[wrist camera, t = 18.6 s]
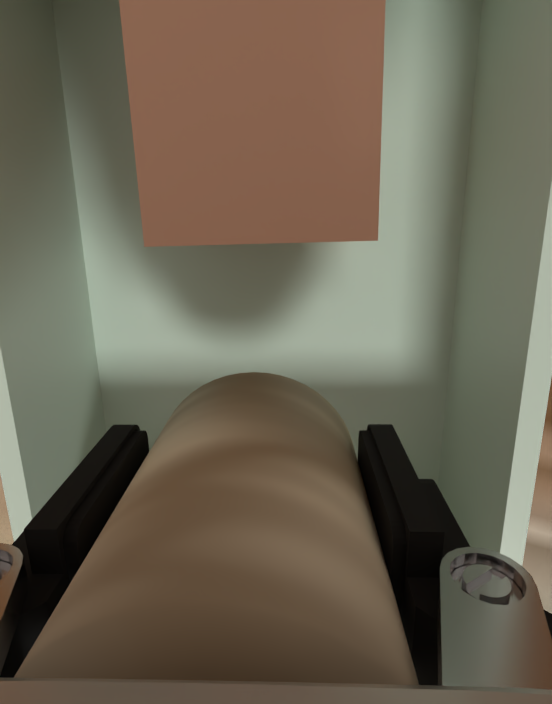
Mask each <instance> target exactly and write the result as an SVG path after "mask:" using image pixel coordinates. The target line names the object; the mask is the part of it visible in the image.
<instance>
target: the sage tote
mask: <svg viewBox="0 0 552 704" xmlns="http://www.w3.org/2000/svg"><path fill="white" fill-rule="evenodd" d="M248 372H261V373H271V374H276V375H281V376H284V377H288V378H291V379H294V380H296V381H298V382H300V383H302V384H305V385H307V386H308V387H310V388H311V389H313V390H315V391H316V392H318V393H319V394H320V395H321V396H322V397H324V398H325V399H326V400H327V401H328V402H329V403H330V404H331V405H332V406H333V407H334V408H335V409H336V411H337V412H338V413H339V415H340V416H341V418H342V419H343V421H344V423H345V425H346V427H347V429H348V431H349V433H350V436H351V439H352V442H353V446H354V449H355V453H356V457H357V460H358V437H359V431H360V430H367V426H368V424H392V425H393V427H394V429H395V431H396V433H397V435H398V437H399V439H400V441H401V443H402V445H403V447H404V449H405V452H406V454H407V456H408V458H409V460H410V462H411V464H412V466H413V468H414V470H415V472H416V474H417V476H418V478H419V479H433V480H434V481H435V483H436V484H437V486H438V488H439V490H440V491H441V493H442V495H443V497H444V499H445V501H446V503H447V504H448V506H449V508H450V510H451V512H452V514H453V515H454V517H455V519H456V521H457V523H458V525H459V526H460V528H461V530H462V532H463V534H464V536H465V538H466V539H467V541H468V543H469V545H470V547H477V548H485V549H488V550H492V551H496V552H498V553H500V554H503V555H505V556H507V557H509V558H511V559H513V560H514V561H515V562H517V563H518V564H520V565H521V566H522V563H523V557H524V551H525V544H526V538H527V531H528V525H529V518H530V512H531V506H532V499H533V493H534V486H535V480H536V473H537V467H538V461H539V454H540V448H541V441H542V435H543V428H544V422H545V416H546V409H547V403H548V396H549V390H550V383H551V377H552V0H386V4H385V36H384V67H383V99H382V131H381V163H380V195H379V226H378V241H346V242H309V243H271V244H233V245H195V246H157V247H144V240H143V230H142V220H141V210H140V201H139V191H138V181H137V171H136V162H135V152H134V142H133V133H132V123H131V113H130V103H129V94H128V84H127V74H126V64H125V55H124V45H123V35H122V26H121V16H120V6H119V0H0V474H1V479H2V484H3V489H4V494H5V499H6V504H7V509H8V514H9V519H10V524H11V529H12V534H13V539H14V542H15V540H16V539H17V538H18V537H19V536H20V535H21V533H22V532H23V531H24V528H25V527H26V526H27V525H28V524H29V522H30V521H31V520H32V519H33V518H34V517H35V515H36V514H37V513H38V512H39V511H40V510H41V508H42V507H43V506H44V505H45V504H46V502H47V501H48V500H49V499H50V498H51V497H52V495H53V494H54V493H55V492H56V491H57V490H58V488H59V487H60V486H61V485H62V484H63V483H64V481H65V480H66V479H67V478H68V477H69V476H70V474H71V473H72V472H73V471H74V470H75V468H76V467H77V466H78V465H79V464H80V463H81V461H82V460H83V459H84V458H85V457H86V456H87V454H88V453H89V452H90V451H91V450H92V449H93V447H94V446H95V445H96V444H97V443H98V442H99V440H100V439H101V438H102V437H103V436H104V434H105V433H106V432H107V431H108V430H109V429H110V427H111V426H112V425H138V426H139V428H140V430H144V431H146V432H147V435H148V443H149V451H150V450H151V448H152V446H153V445H154V443H155V441H156V440H157V438H158V436H159V435H160V433H161V431H162V430H163V428H164V426H165V425H166V423H167V421H168V420H169V418H170V417H171V415H172V413H173V412H174V410H175V409H176V408H177V407H178V406H179V404H180V403H181V402H182V401H183V400H184V399H185V398H186V397H187V396H189V395H190V394H191V393H192V392H193V391H195V390H196V389H198V388H200V387H201V386H203V385H205V384H207V383H209V382H211V381H213V380H215V379H218V378H221V377H224V376H227V375H233V374H238V373H248Z"/></svg>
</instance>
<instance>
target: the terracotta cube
mask: <svg viewBox="0 0 552 704" xmlns="http://www.w3.org/2000/svg"><path fill="white" fill-rule="evenodd" d="M385 4H386V0H119V6H120V16H121V26H122V35H123V45H124V55H125V64H126V74H127V84H128V94H129V103H130V113H131V123H132V133H133V142H134V152H135V162H136V171H137V181H138V191H139V201H140V210H141V220H142V230H143V240H144V247H157V246H195V245H233V244H271V243H309V242H346V241H378V226H379V195H380V163H381V131H382V99H383V67H384V36H385Z"/></svg>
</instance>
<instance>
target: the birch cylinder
mask: <svg viewBox="0 0 552 704" xmlns="http://www.w3.org/2000/svg"><path fill="white" fill-rule="evenodd" d="M14 678H84V679H148V680H207V681H262V682H309V683H351V684H394V685H419V683H418V679H417V675H416V672H415V668H414V664H413V661H412V657H411V654H410V650H409V646H408V643H407V639H406V635H405V632H404V628H403V624H402V621H401V617H400V613H399V610H398V606H397V602H396V599H395V595H394V592H393V588H392V584H391V581H390V577H389V573H388V570H387V566H386V562H385V559H384V555H383V551H382V548H381V544H380V540H379V537H378V533H377V529H376V526H375V522H374V519H373V515H372V511H371V508H370V504H369V500H368V497H367V493H366V489H365V486H364V482H363V478H362V475H361V471H360V467H359V464H358V460H357V457H356V453H355V449H354V446H353V442H352V439H351V436H350V433H349V431H348V429H347V427H346V425H345V423H344V421H343V419H342V418H341V416H340V415H339V413H338V412H337V411H336V409H335V408H334V407H333V406H332V405H331V404H330V403H329V402H328V401H327V400H326V399H325V398H324V397H322V396H321V395H320V394H319V393H318V392H316V391H315V390H313V389H311V388H310V387H308V386H307V385H305V384H302V383H300V382H298V381H296V380H294V379H291V378H288V377H284V376H281V375H276V374H271V373H261V372H248V373H238V374H233V375H227V376H224V377H221V378H218V379H215V380H213V381H211V382H209V383H207V384H205V385H203V386H201V387H200V388H198V389H196V390H195V391H193V392H192V393H191V394H190V395H189V396H187V397H186V398H185V399H184V400H183V401H182V402H181V403H180V404H179V406H178V407H177V408H176V409H175V410H174V412H173V413H172V415H171V417H170V418H169V420H168V421H167V423H166V425H165V426H164V428H163V430H162V431H161V433H160V435H159V436H158V438H157V440H156V441H155V443H154V445H153V446H152V448H151V450H150V451H149V453H148V455H147V456H146V458H145V460H144V461H143V463H142V465H141V466H140V468H139V470H138V471H137V473H136V475H135V476H134V478H133V480H132V481H131V483H130V485H129V486H128V488H127V490H126V491H125V493H124V495H123V496H122V498H121V500H120V501H119V503H118V505H117V506H116V508H115V510H114V511H113V513H112V515H111V516H110V518H109V520H108V521H107V523H106V525H105V526H104V528H103V530H102V531H101V533H100V535H99V536H98V538H97V540H96V541H95V543H94V545H93V546H92V548H91V550H90V551H89V553H88V555H87V556H86V558H85V560H84V561H83V563H82V565H81V566H80V568H79V570H78V571H77V573H76V575H75V576H74V578H73V580H72V581H71V583H70V585H69V586H68V588H67V590H66V591H65V593H64V595H63V596H62V598H61V600H60V601H59V603H58V605H57V606H56V608H55V610H54V611H53V613H52V615H51V616H50V618H49V620H48V621H47V623H46V625H45V626H44V628H43V630H42V631H41V633H40V635H39V636H38V638H37V640H36V641H35V643H34V645H33V646H32V648H31V650H30V651H29V653H28V655H27V656H26V658H25V660H24V661H23V663H22V665H21V666H20V668H19V670H18V671H17V673H16V675H15V676H14Z"/></svg>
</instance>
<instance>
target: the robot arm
mask: <svg viewBox="0 0 552 704" xmlns="http://www.w3.org/2000/svg"><path fill="white" fill-rule="evenodd" d="M148 453H149V443H148V435H147V432H146V431H144V430H140V428H139V426H138V425H112V426H111V427H110V429H109V430H108V431H107V432H106V433H105V434H104V436H103V437H102V438H101V439H100V440H99V442H98V443H97V444H96V445H95V446H94V447H93V449H92V450H91V451H90V452H89V453H88V454H87V456H86V457H85V458H84V459H83V460H82V461H81V463H80V464H79V465H78V466H77V467H76V468H75V470H74V471H73V472H72V473H71V474H70V476H69V477H68V478H67V479H66V480H65V481H64V483H63V484H62V485H61V486H60V487H59V488H58V490H57V491H56V492H55V493H54V494H53V495H52V497H51V498H50V499H49V500H48V501H47V502H46V504H45V505H44V506H43V507H42V508H41V510H40V511H39V512H38V513H37V514H36V515H35V517H34V518H33V519H32V520H31V521H30V522H29V524H28V525H27V526H26V527H25V528H24V531H23V532H22V533H21V535H20V536H19V537H18V538H17V539H16V540H15V542H14V543H13V544H12V545H9V544H3V543H0V704H552V614H551V613H549V612H547V611H545V610H543V606H542V603H541V599H540V596H539V592H538V589H537V586H536V584H535V582H534V580H533V578H532V576H531V575H530V574H529V573H528V572H527V571H526V570H525V569H524V568H523V566H521V565H520V564H518V563H517V562H515V561H514V560H513V559H511V558H509V557H507V556H505V555H503V554H500V553H498V552H496V551H492V550H488V549H485V548H477V547H470V545H469V543H468V541H467V539H466V538H465V536H464V534H463V532H462V530H461V528H460V526H459V525H458V523H457V521H456V519H455V517H454V515H453V514H452V512H451V510H450V508H449V506H448V504H447V503H446V501H445V499H444V497H443V495H442V493H441V491H440V490H439V488H438V486H437V484H436V483H435V481H434V480H433V479H419V478H418V476H417V474H416V472H415V470H414V468H413V466H412V464H411V462H410V460H409V458H408V456H407V454H406V452H405V449H404V447H403V445H402V443H401V441H400V439H399V437H398V435H397V433H396V431H395V429H394V427H393V425H392V424H368V426H367V430H360V431H359V437H358V464H359V467H360V471H361V475H362V478H363V482H364V486H365V489H366V493H367V497H368V500H369V504H370V508H371V511H372V515H373V519H374V522H375V526H376V529H377V533H378V537H379V540H380V544H381V548H382V551H383V555H384V559H385V562H386V566H387V570H388V573H389V577H390V581H391V584H392V588H393V592H394V595H395V599H396V602H397V606H398V610H399V613H400V617H401V621H402V624H403V628H404V632H405V635H406V639H407V643H408V646H409V650H410V654H411V657H412V661H413V664H414V668H415V672H416V675H417V679H418V683H419V685H394V684H351V683H309V682H262V681H207V680H148V679H84V678H14V676H15V675H16V673H17V671H18V670H19V668H20V666H21V665H22V663H23V661H24V660H25V658H26V656H27V655H28V653H29V651H30V650H31V648H32V646H33V645H34V643H35V641H36V640H37V638H38V636H39V635H40V633H41V631H42V630H43V628H44V626H45V625H46V623H47V621H48V620H49V618H50V616H51V615H52V613H53V611H54V610H55V608H56V606H57V605H58V603H59V601H60V600H61V598H62V596H63V595H64V593H65V591H66V590H67V588H68V586H69V585H70V583H71V581H72V580H73V578H74V576H75V575H76V573H77V571H78V570H79V568H80V566H81V565H82V563H83V561H84V560H85V558H86V556H87V555H88V553H89V551H90V550H91V548H92V546H93V545H94V543H95V541H96V540H97V538H98V536H99V535H100V533H101V531H102V530H103V528H104V526H105V525H106V523H107V521H108V520H109V518H110V516H111V515H112V513H113V511H114V510H115V508H116V506H117V505H118V503H119V501H120V500H121V498H122V496H123V495H124V493H125V491H126V490H127V488H128V486H129V485H130V483H131V481H132V480H133V478H134V476H135V475H136V473H137V471H138V470H139V468H140V466H141V465H142V463H143V461H144V460H145V458H146V456H147V455H148Z"/></svg>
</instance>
